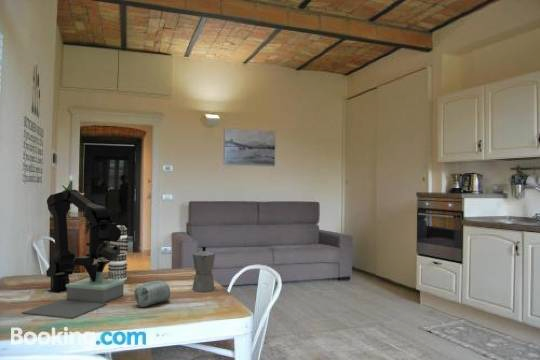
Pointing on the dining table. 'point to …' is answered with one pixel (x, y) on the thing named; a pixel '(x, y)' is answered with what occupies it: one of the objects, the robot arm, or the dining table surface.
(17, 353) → the dining table surface
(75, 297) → the tub
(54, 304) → the mat
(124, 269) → the decorative candle
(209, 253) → the coffeepot
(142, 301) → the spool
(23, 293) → the dining table surface
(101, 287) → the lid
